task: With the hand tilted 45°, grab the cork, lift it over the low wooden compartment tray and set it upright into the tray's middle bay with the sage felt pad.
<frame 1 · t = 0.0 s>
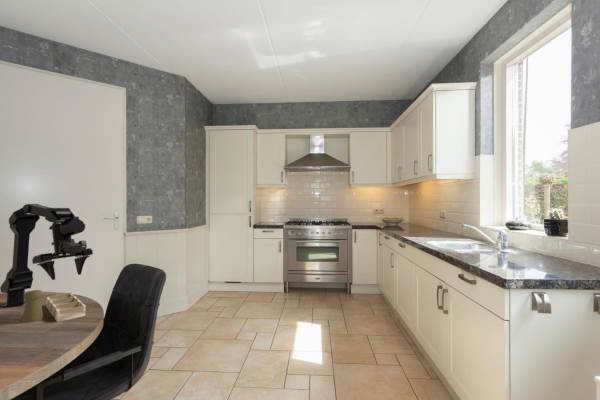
hand: (67, 277, 116), 15 cm above the table, tool pointing down, fingers open, 9 cm apart
wooden compartment tray: (64, 310, 122), on the table
cork: (32, 320, 112), on the table
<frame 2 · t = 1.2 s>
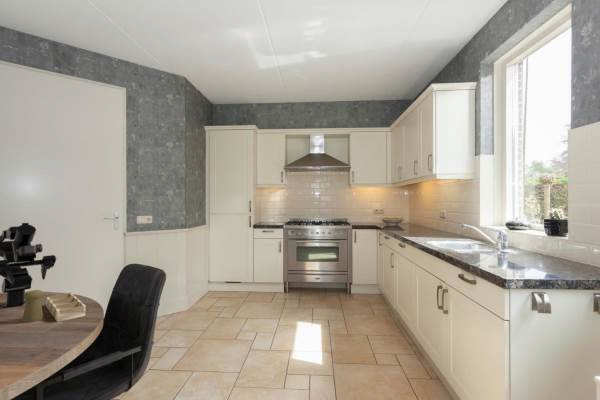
hand: (29, 281, 117), 13 cm above the table, tool tilted 45°, fingers open, 9 cm apart
nothing on the table moved.
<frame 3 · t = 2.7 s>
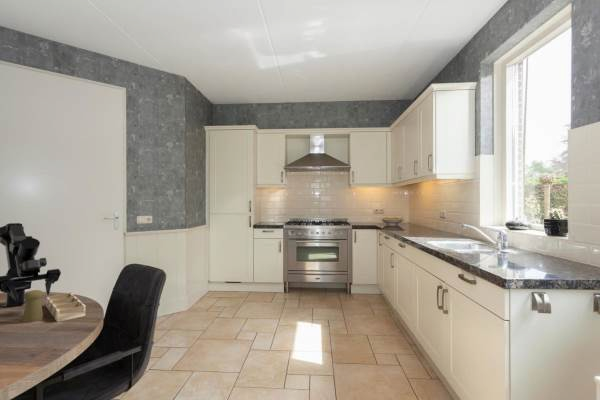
hand: (33, 297, 113), 8 cm above the table, tool tilted 45°, fingers open, 9 cm apart
nothing on the table moved.
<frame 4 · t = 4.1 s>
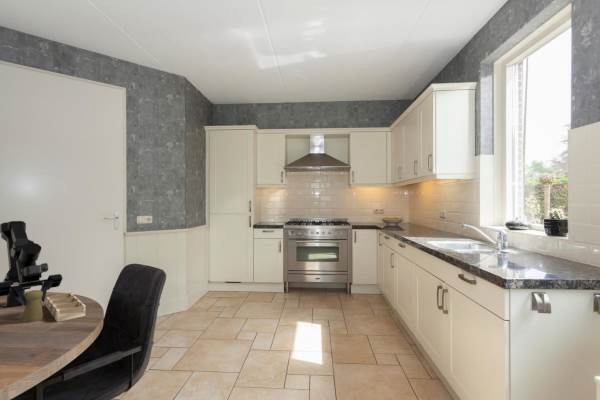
hand: (34, 303, 111), 7 cm above the table, tool tilted 45°, fingers closed on cork, 5 cm apart
cork: (32, 320, 112), on the table, touching gripper
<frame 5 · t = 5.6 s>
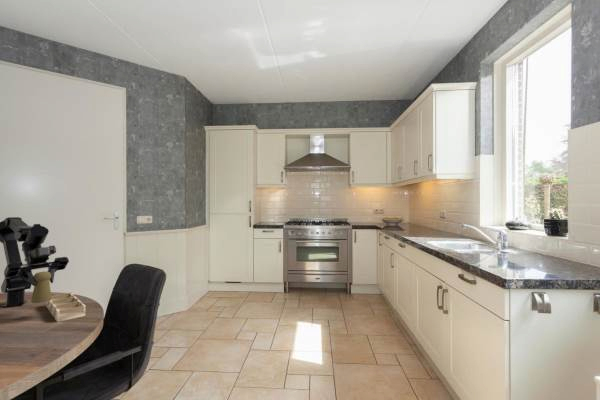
hand: (43, 283, 114), 13 cm above the table, tool tilted 45°, fingers closed on cork, 5 cm apart
cork: (41, 300, 114), point 6 cm above the table, touching gripper
when the fingers open (9 cm above the table, at t = 7.6 s): cork stays where it is, resting on wooden compartment tray.
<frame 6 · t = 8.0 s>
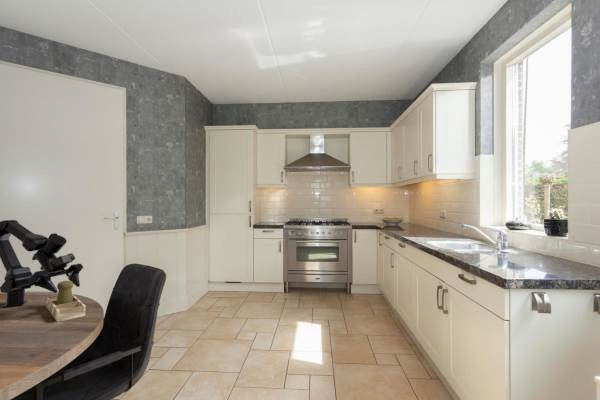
hand: (68, 289, 122), 9 cm above the table, tool tilted 45°, fingers open, 9 cm apart
cork: (64, 308, 122), point 1 cm above the table, touching wooden compartment tray
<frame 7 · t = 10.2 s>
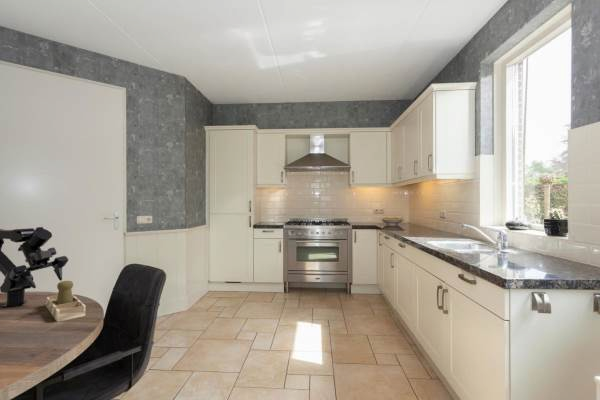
hand: (48, 283, 123), 11 cm above the table, tool tilted 40°, fingers open, 9 cm apart
nothing on the table moved.
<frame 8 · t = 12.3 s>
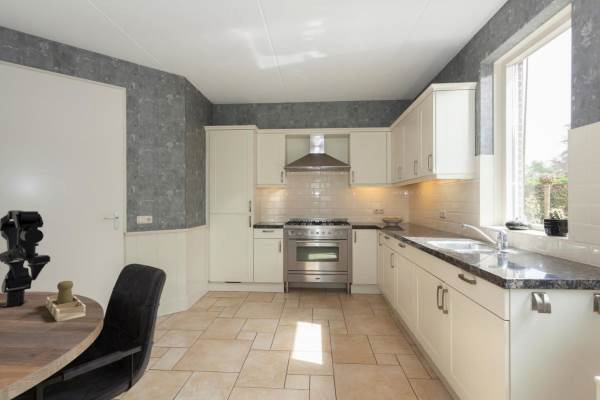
hand: (25, 279, 121), 13 cm above the table, tool pointing down, fingers open, 9 cm apart
nothing on the table moved.
at the end: cork 0.1 cm off-centre on the wooden compartment tray, point 1.0 cm above the wooden compartment tray's base; cork tilted 0°; the gripper is holding nothing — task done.
